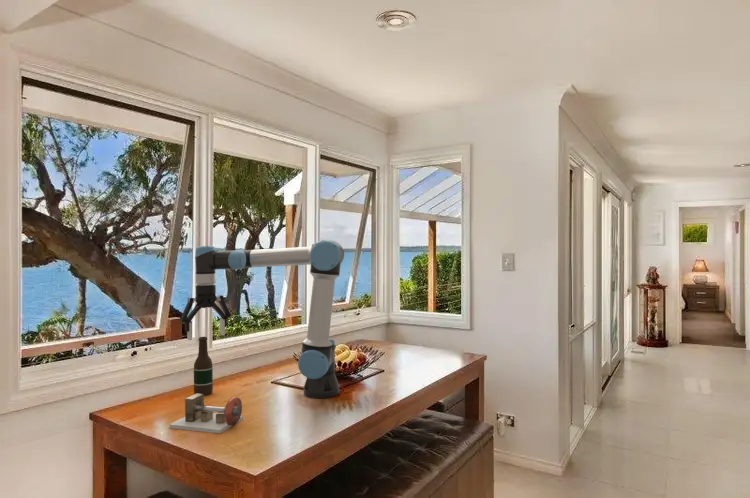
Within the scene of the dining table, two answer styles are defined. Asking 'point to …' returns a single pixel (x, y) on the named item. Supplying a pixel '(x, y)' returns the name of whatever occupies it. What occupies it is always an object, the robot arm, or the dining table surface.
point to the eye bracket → (194, 415)
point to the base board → (202, 425)
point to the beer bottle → (203, 370)
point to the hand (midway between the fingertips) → (206, 337)
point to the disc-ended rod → (226, 410)
